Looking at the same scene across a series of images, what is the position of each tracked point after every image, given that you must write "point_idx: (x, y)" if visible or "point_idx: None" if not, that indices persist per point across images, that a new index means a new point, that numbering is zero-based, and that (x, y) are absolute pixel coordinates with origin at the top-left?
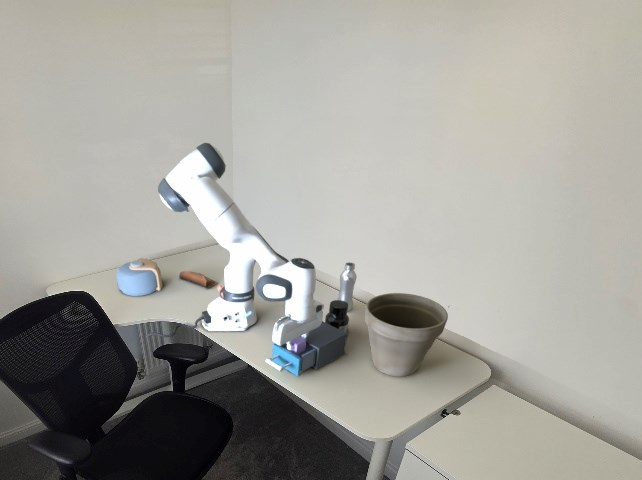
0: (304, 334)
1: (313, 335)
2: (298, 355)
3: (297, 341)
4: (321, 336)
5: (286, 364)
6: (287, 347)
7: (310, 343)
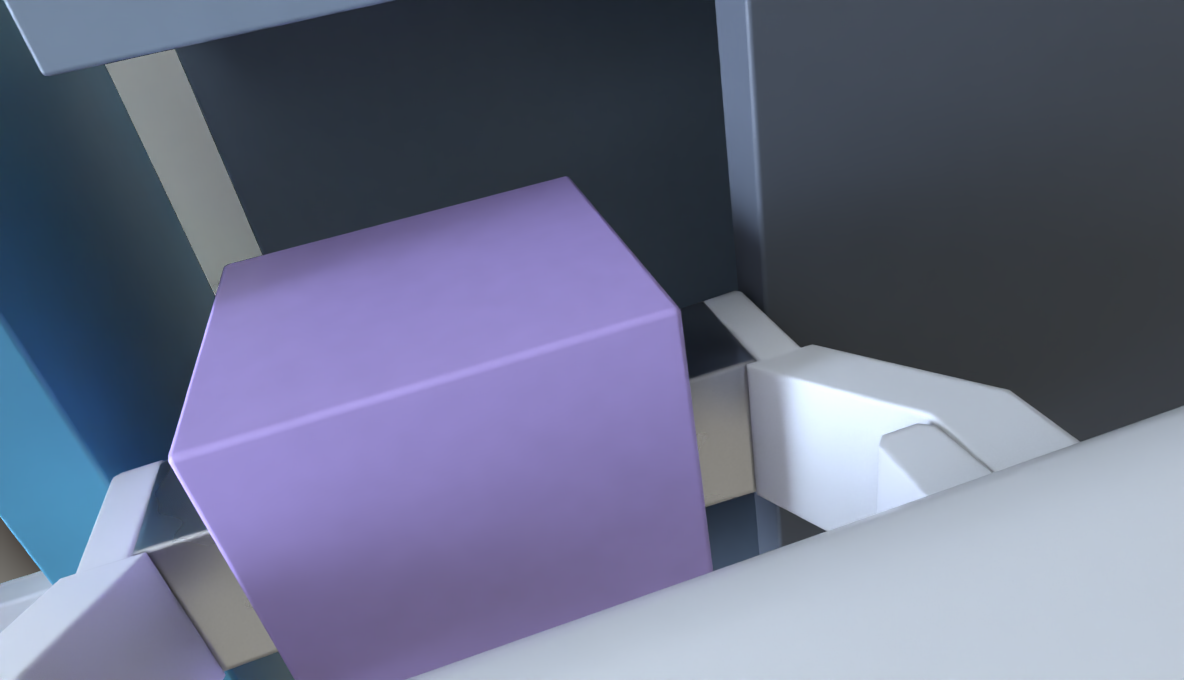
0: (872, 480)
1: (1096, 268)
2: (555, 141)
3: (462, 629)
4: (1164, 371)
5: (23, 604)
6: (117, 502)
7: (782, 534)
